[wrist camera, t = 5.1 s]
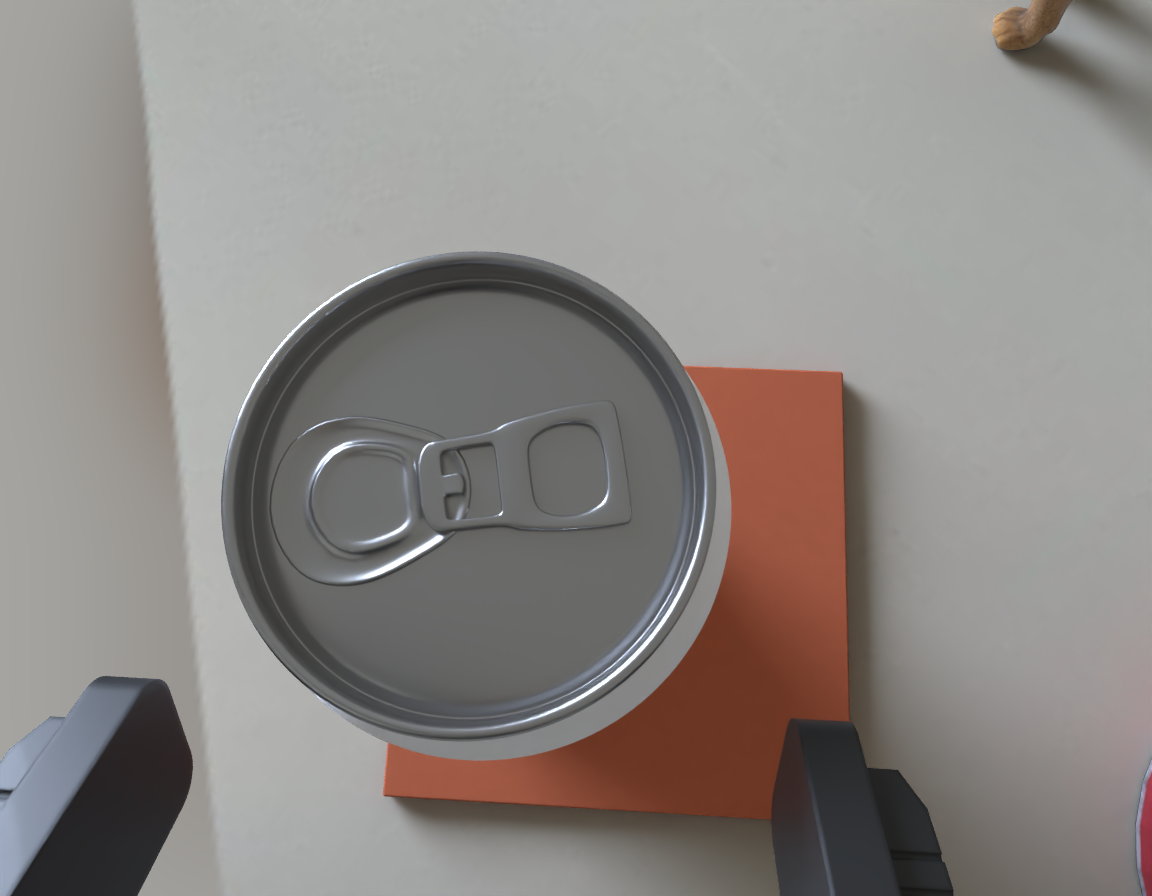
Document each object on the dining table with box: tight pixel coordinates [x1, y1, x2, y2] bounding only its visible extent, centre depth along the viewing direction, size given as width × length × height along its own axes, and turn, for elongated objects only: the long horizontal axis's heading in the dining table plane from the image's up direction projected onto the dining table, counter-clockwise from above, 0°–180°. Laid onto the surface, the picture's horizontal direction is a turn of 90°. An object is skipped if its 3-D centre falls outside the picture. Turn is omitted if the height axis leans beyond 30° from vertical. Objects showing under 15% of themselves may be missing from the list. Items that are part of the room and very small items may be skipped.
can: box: [221, 252, 731, 761], centre depth 15 cm, size 6×6×12 cm
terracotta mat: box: [383, 366, 850, 820], centre depth 21 cm, size 11×11×1 cm
